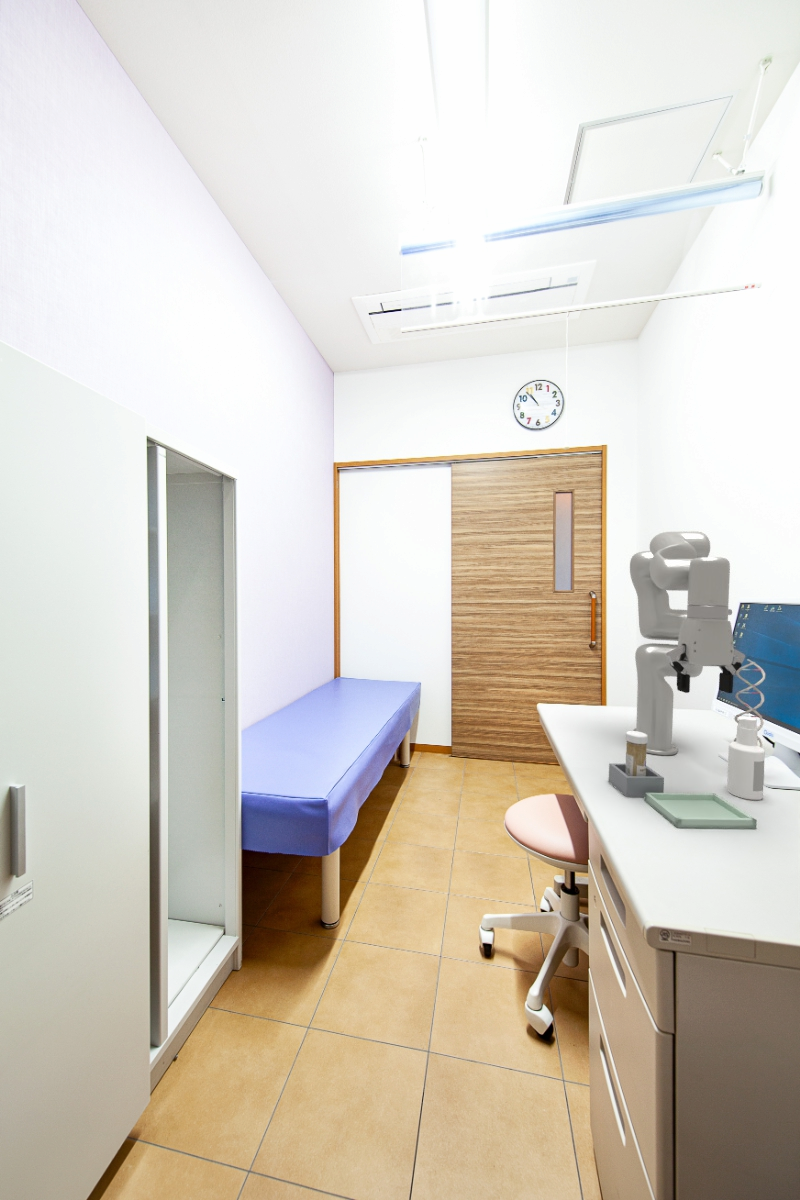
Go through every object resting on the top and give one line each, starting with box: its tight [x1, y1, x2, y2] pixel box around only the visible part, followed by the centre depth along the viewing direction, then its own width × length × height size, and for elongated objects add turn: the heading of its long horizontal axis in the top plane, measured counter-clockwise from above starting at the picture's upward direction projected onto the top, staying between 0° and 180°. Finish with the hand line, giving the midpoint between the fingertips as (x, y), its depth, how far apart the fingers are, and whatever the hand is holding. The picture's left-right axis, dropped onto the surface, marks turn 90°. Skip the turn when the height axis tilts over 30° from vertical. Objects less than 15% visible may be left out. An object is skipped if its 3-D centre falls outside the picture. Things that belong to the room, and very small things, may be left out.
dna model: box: [733, 658, 766, 748], centre depth 120 cm, size 7×6×30 cm
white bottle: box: [726, 715, 766, 801], centre depth 109 cm, size 7×7×18 cm
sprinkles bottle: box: [625, 730, 648, 776], centre depth 110 cm, size 5×5×13 cm
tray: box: [644, 792, 758, 830], centre depth 99 cm, size 12×16×2 cm
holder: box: [608, 762, 665, 798], centre depth 111 cm, size 9×9×4 cm
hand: (704, 691), depth 102 cm, fingers open, 9 cm apart
